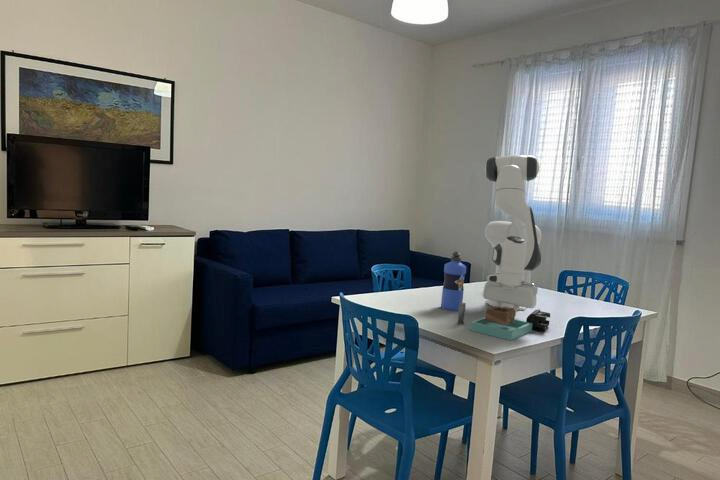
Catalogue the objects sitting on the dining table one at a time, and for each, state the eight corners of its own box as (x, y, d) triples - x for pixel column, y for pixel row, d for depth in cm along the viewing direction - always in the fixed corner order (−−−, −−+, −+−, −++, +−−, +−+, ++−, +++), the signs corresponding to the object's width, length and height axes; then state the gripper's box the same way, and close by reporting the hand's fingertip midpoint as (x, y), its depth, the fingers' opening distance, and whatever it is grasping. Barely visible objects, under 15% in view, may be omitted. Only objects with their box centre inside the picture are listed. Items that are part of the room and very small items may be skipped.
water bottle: (436, 307, 228) (441, 250, 225) (448, 304, 235) (453, 249, 232) (454, 312, 222) (460, 253, 219) (466, 309, 228) (471, 252, 226)
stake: (459, 322, 205) (461, 302, 204) (464, 323, 203) (466, 303, 203) (456, 323, 203) (458, 303, 202) (461, 324, 202) (463, 304, 201)
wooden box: (499, 315, 205) (500, 304, 204) (519, 320, 200) (520, 308, 200) (485, 320, 195) (486, 308, 194) (505, 325, 190) (506, 313, 189)
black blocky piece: (530, 324, 211) (532, 308, 210) (548, 328, 207) (550, 311, 207) (525, 329, 202) (527, 312, 201) (544, 333, 199) (546, 315, 198)
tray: (492, 321, 210) (493, 314, 210) (531, 330, 200) (532, 323, 200) (469, 330, 194) (470, 321, 194) (511, 340, 184) (511, 332, 184)
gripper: (541, 283, 195) (536, 319, 196) (490, 274, 208) (486, 308, 209) (535, 285, 190) (530, 322, 192) (483, 275, 203) (479, 310, 204)
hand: (507, 314), depth 200 cm, fingers closed on wooden box, 3 cm apart
